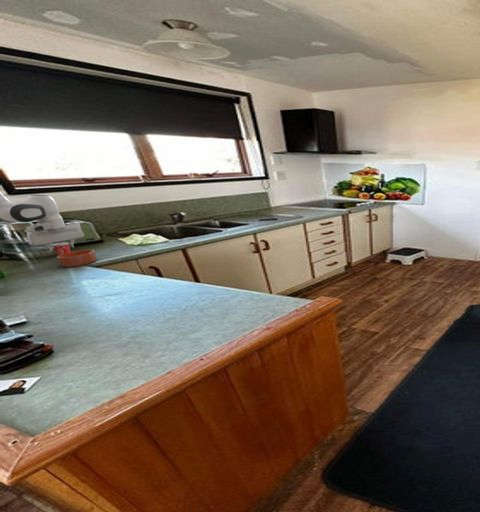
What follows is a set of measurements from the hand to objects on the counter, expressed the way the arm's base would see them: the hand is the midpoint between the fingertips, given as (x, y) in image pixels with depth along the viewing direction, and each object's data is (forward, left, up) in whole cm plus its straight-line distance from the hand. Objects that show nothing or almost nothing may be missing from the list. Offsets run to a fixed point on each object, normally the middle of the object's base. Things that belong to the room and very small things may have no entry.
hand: (62, 249), depth 151 cm
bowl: (+8, -16, -6) cm, 19 cm away
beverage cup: (0, 0, -6) cm, 6 cm away
